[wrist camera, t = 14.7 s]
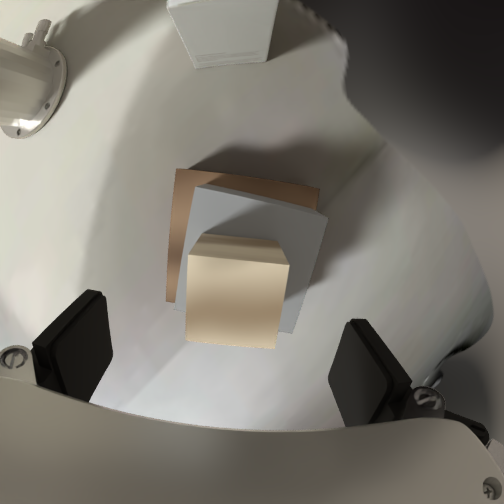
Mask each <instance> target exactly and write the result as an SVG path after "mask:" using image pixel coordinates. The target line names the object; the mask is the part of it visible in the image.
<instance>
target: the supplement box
mask: <svg viewBox="0 0 504 504" xmlns="http://www.w3.org/2000/svg"><path fill="white" fill-rule="evenodd" d="M278 3H279V0H167V10H168V12H169V14H170V16H171V18H172V20H173V22H174V24H175V26H176V28H177V30H178V32H179V34H180V36H181V39H182V41H183V43H184V45H185V47H186V49H187V51H188V53H189V55H190V58H191V60H192V62H193V64H194V66H195V68H196V69H199V68H206V67H214V66H223V65H232V64H243V63H257V62H266V61H267V56H268V52H269V46H270V42H271V37H272V32H273V27H274V22H275V17H276V13H277V8H278Z"/></svg>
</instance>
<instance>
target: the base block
mask: <svg viewBox="0 0 504 504" xmlns="http://www.w3.org/2000/svg"><path fill="white" fill-rule="evenodd" d="M203 184H210V185H215V186H219V187H224V188H229V189H233V190H238V191H242V192H247V193H251V194H255V195H259V196H264V197H268V198H272V199H276V200H280V201H284V202H288V203H292V204H296V205H300V206H304V207H308V208H311V209H313V210H315V211H316V207H317V202H318V196H319V190H320V189H318V188H314V187H309V186H304V185H298V184H292V183H287V182H281V181H274V180H268V179H262V178H255V177H248V176H241V175H233V174H226V173H217V172H209V171H200V170H190V169H176V175H175V183H174V192H173V201H172V211H171V222H170V234H169V248H168V265H167V286H166V301H167V302H173V303H175V300H176V292H177V286H178V279H179V272H180V266H181V260H182V254H183V248H184V242H185V237H186V231H187V226H188V220H189V215H190V210H191V205H192V200H193V195H194V190H195V187H196V186H199V185H203Z"/></svg>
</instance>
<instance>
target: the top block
mask: <svg viewBox="0 0 504 504" xmlns="http://www.w3.org/2000/svg"><path fill="white" fill-rule="evenodd" d="M328 219H329V218H327V217H326V216H324V215H322V214H320V213H319V212H317V211H315V210H313V209H311V208H308V207H304V206H300V205H296V204H292V203H288V202H284V201H280V200H276V199H272V198H268V197H264V196H259V195H255V194H251V193H247V192H242V191H238V190H233V189H229V188H224V187H219V186H215V185H210V184H203V185H199V186H196V187H195V190H194V195H193V200H192V205H191V210H190V215H189V220H188V226H187V231H186V237H185V242H184V248H183V254H182V260H181V266H180V272H179V279H178V286H177V292H176V300H175V307H174V310H177V311H181V312H185V313H186V289H187V265H188V254H189V252H190V251H191V249H192V248H193V246H194V245H195V243H196V242H197V240H198V238H199V237H200V235H201V234H202V233H206V234H216V235H226V236H235V237H245V238H254V239H263V240H273V241H278V243H279V245H280V247H281V249H282V251H283V253H284V255H285V257H286V259H287V261H288V263H289V265H290V266H289V272H288V278H287V284H286V290H285V295H284V301H283V307H282V312H281V318H280V323H279V329H278V331H279V332H285V333H291V334H292V333H293V330H294V327H295V324H296V321H297V319H298V316H299V313H300V310H301V307H302V304H303V301H304V298H305V295H306V292H307V289H308V285H309V282H310V279H311V276H312V273H313V270H314V266H315V263H316V260H317V257H318V253H319V250H320V247H321V243H322V240H323V236H324V233H325V229H326V226H327V222H328Z"/></svg>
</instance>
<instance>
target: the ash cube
mask: <svg viewBox="0 0 504 504" xmlns="http://www.w3.org/2000/svg"><path fill="white" fill-rule="evenodd" d="M289 266H290V265H289V263H288V261H287V259H286V257H285V255H284V253H283V251H282V249H281V247H280V245H279V243H278V241H273V240H263V239H254V238H245V237H235V236H226V235H216V234H206V233H202V234H201V235H200V237H199V238H198V240H197V242H196V243H195V245H194V246H193V248H192V249H191V251H190V252H189V254H188V265H187V289H186V340H187V341H194V342H203V343H211V344H221V345H231V346H242V347H255V348H269V349H275V344H276V339H277V334H278V329H279V323H280V318H281V312H282V307H283V301H284V295H285V290H286V284H287V278H288V272H289Z"/></svg>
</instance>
